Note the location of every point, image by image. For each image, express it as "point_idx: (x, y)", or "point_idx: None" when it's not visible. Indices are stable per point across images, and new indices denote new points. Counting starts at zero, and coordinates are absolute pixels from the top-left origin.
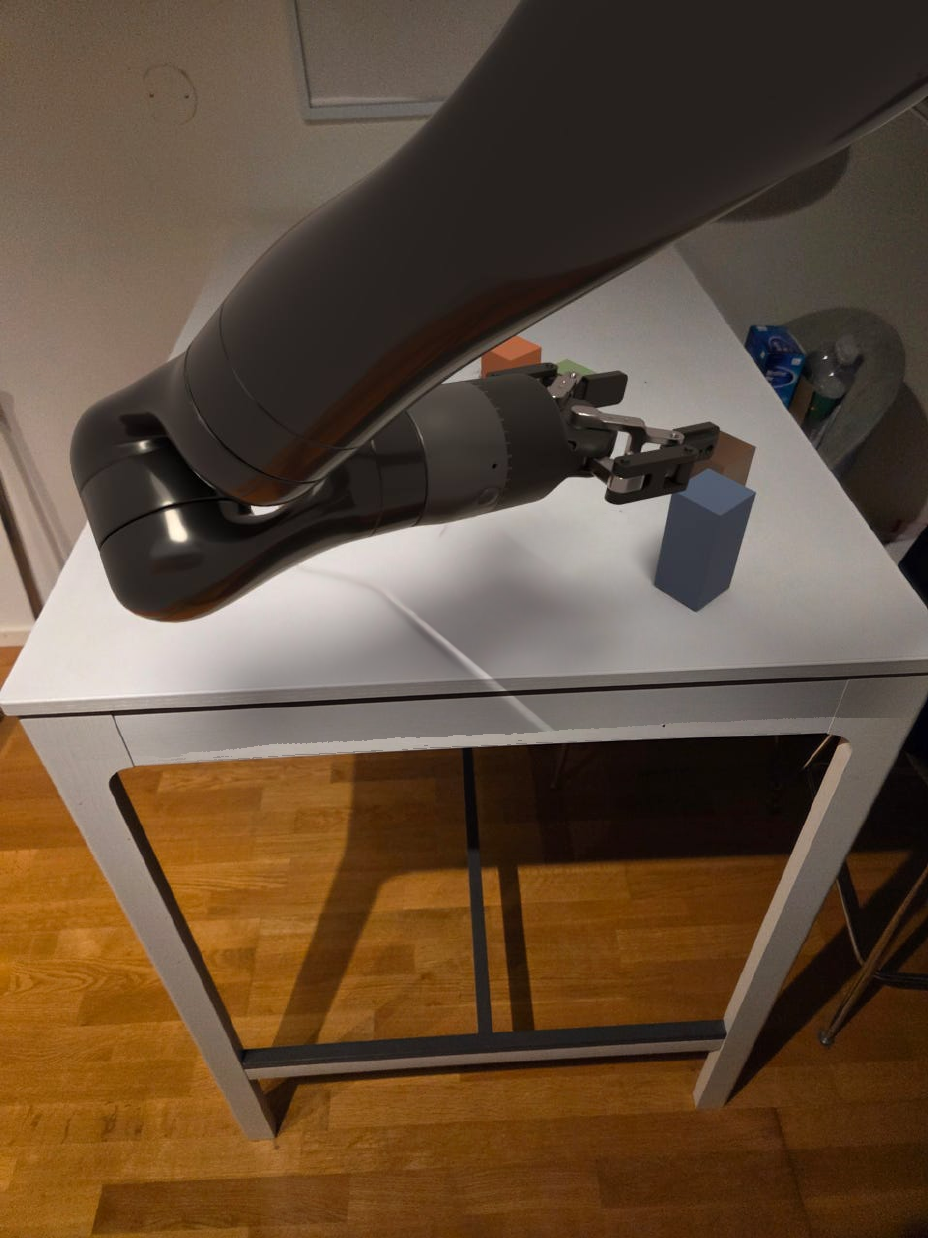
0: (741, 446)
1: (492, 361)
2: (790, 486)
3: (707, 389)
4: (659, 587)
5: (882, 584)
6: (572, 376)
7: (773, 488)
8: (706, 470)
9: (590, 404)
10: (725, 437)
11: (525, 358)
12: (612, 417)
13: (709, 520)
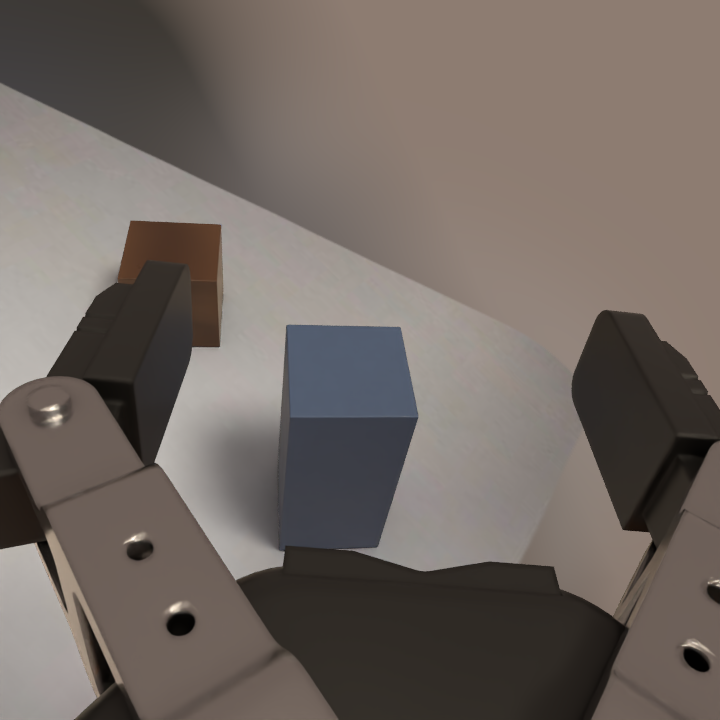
0: (203, 234)
1: None
2: (265, 252)
3: (21, 156)
4: None
5: (480, 328)
6: (61, 421)
7: (251, 266)
8: (290, 331)
9: (349, 557)
10: (166, 230)
11: None
12: (692, 648)
13: (392, 431)
